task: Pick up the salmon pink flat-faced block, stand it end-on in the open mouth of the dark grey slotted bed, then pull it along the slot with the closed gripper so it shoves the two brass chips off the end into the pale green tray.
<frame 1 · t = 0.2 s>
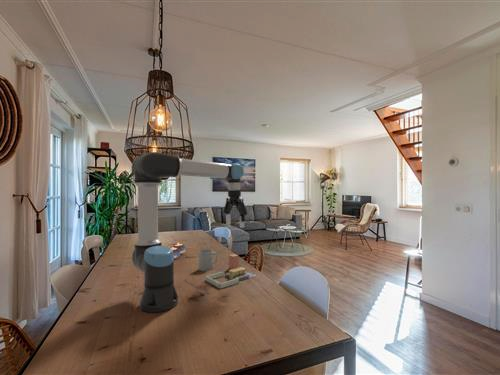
hand: (235, 226, 149), 26 cm above the table, fingers open, 13 cm apart
mug: (208, 268, 154), on the table
chip b: (240, 276, 136), point 1 cm above the table, touching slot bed
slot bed: (241, 278, 137), on the table
tray: (221, 283, 129), on the table
chip a: (234, 277, 134), point 1 cm above the table, touching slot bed
salmon pink flat-faced block: (233, 270, 150), on the table
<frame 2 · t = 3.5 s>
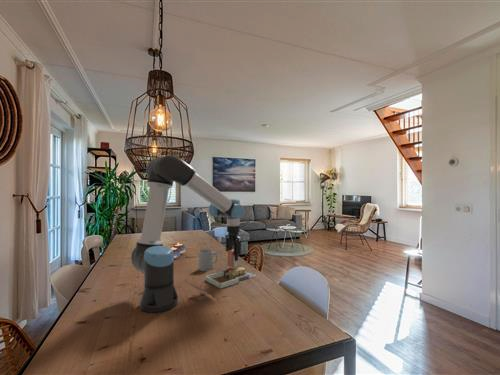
hand: (232, 264, 149), 3 cm above the table, fingers closed on salmon pink flat-faced block, 4 cm apart
salmon pink flat-faced block: (232, 265, 149), point 3 cm above the table, touching gripper
everything else where it was.
when the fingers open (2 cm above the table, at t = 7.4 s): salmon pink flat-faced block stays where it is, resting on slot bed.
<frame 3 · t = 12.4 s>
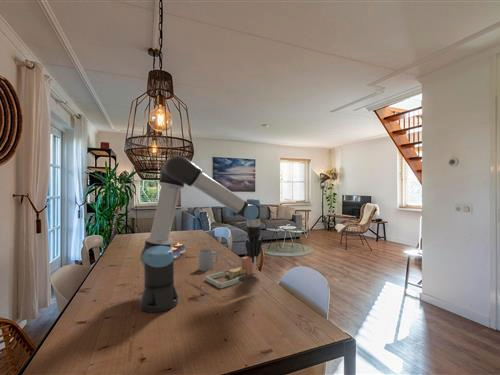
hand: (253, 267, 143), 4 cm above the table, fingers closed
salmon pink flat-faced block: (247, 274, 139), point 1 cm above the table, touching gripper, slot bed
everything else where it was.
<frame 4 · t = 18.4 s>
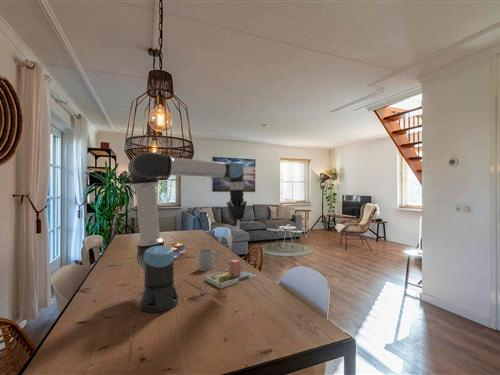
hand: (237, 231, 143), 24 cm above the table, fingers closed
chip b: (226, 281, 131), resting on tray, touching chip a
chip a: (220, 283, 128), resting on tray, touching chip b
salmon pink flat-faced block: (235, 277, 134), point 1 cm above the table, touching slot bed
everything else where it was.
at the end: chip a inside the target area on the tray (0.6 cm from its centre), point 0.4 cm above the tray's base; chip b inside the target area on the tray (3.5 cm from its centre), point 0.4 cm above the tray's base; salmon pink flat-faced block inside the target area (3.6 cm from its centre), point 1.2 cm above the table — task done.
